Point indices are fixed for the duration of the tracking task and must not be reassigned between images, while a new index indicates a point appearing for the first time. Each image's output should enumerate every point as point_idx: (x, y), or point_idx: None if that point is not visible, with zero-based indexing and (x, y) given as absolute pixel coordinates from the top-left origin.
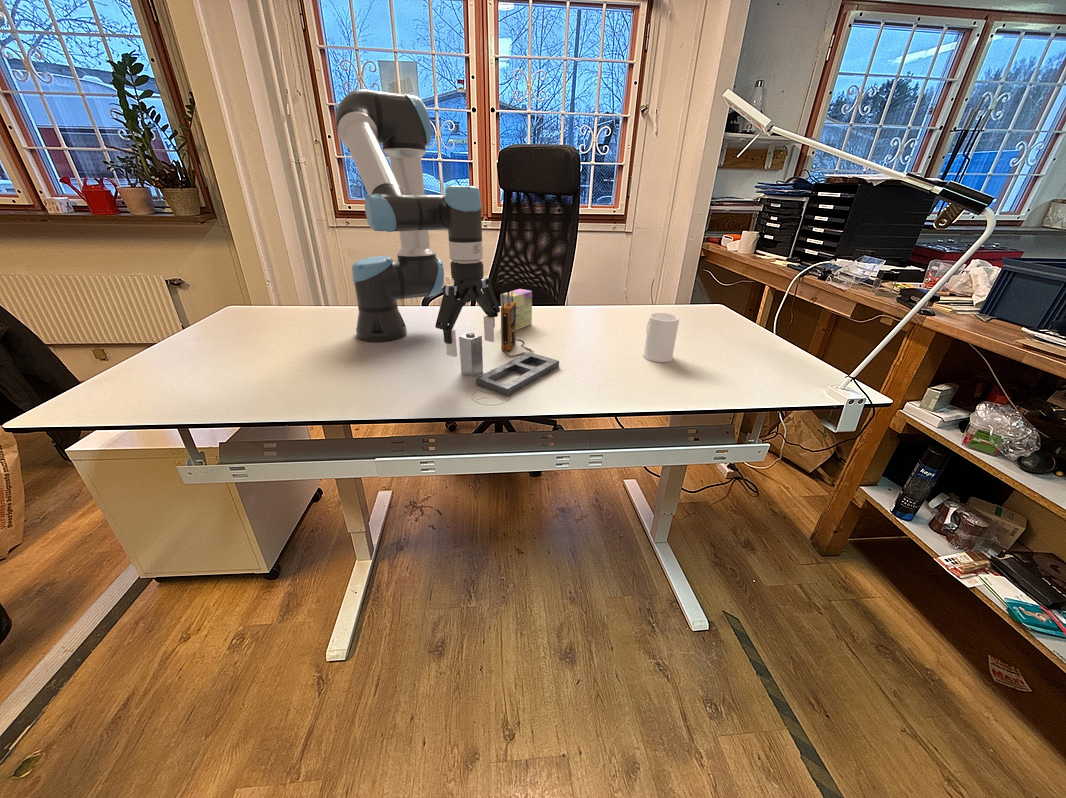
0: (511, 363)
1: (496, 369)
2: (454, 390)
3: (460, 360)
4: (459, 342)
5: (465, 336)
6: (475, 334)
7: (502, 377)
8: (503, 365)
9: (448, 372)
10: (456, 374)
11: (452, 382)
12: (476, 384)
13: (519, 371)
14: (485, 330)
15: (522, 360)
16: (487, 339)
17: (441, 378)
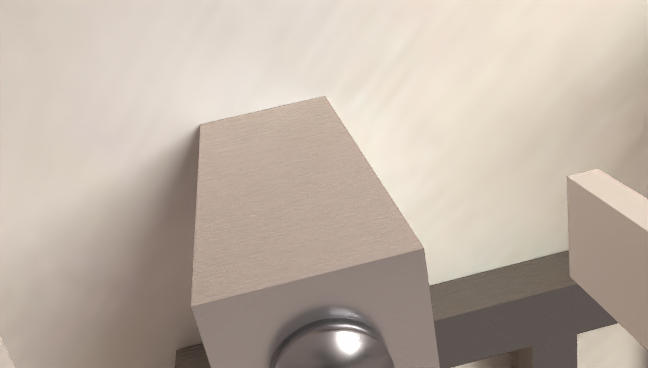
0: (530, 323)
1: None
2: (5, 341)
3: (198, 164)
4: (194, 260)
5: (265, 353)
6: (419, 354)
7: None
8: (465, 322)
9: (113, 46)
10: (152, 124)
11: (51, 230)
12: (177, 358)
13: (515, 353)
14: (646, 249)
15: None
16: (577, 225)
17: (2, 118)
